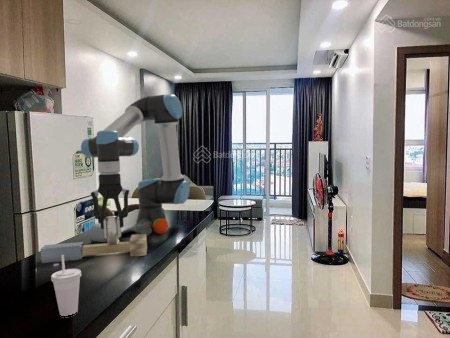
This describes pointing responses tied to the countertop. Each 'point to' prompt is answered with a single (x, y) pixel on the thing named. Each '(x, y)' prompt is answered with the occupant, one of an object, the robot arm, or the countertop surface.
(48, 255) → the sleeve
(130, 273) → the countertop surface
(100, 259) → the countertop surface
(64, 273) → the smoothie
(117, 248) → the bar with upright post
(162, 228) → the clementine
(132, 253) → the socket block
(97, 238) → the ceramic mug
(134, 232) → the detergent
